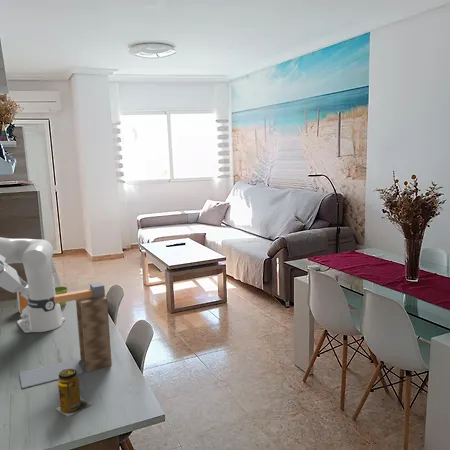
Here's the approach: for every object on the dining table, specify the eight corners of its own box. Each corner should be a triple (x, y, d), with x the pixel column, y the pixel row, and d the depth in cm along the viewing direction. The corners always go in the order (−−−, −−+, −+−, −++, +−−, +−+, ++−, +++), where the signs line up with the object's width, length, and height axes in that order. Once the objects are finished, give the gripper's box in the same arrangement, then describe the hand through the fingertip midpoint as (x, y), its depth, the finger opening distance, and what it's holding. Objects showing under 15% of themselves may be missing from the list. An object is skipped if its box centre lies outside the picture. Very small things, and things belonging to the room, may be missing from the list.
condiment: (55, 408, 138) (51, 373, 136) (79, 396, 144) (76, 362, 142) (67, 417, 133) (64, 380, 131) (92, 404, 140) (89, 369, 137)
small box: (20, 314, 216) (17, 289, 214) (18, 310, 221) (15, 285, 219) (38, 311, 221) (35, 286, 218) (35, 307, 226) (33, 282, 224)
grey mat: (22, 388, 149) (21, 387, 149) (19, 373, 160) (18, 372, 160) (82, 373, 159) (82, 372, 159) (76, 359, 169) (76, 358, 169)
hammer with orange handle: (56, 304, 154) (54, 293, 154) (53, 300, 159) (52, 289, 158) (104, 296, 162) (104, 285, 162) (101, 292, 167) (100, 282, 166)
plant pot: (51, 309, 222) (49, 293, 220) (48, 304, 230) (47, 288, 229) (70, 306, 226) (69, 290, 225) (67, 301, 234) (66, 285, 233)
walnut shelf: (86, 371, 160) (81, 303, 155) (80, 359, 170) (75, 294, 165) (111, 365, 164) (107, 298, 160) (104, 353, 174) (99, 290, 169)
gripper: (-16, 266, 153) (18, 288, 160) (-15, 281, 136) (23, 305, 142) (-3, 252, 154) (30, 274, 161) (0, 265, 137) (37, 290, 143)
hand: (27, 289), depth 151 cm, fingers open, 8 cm apart
